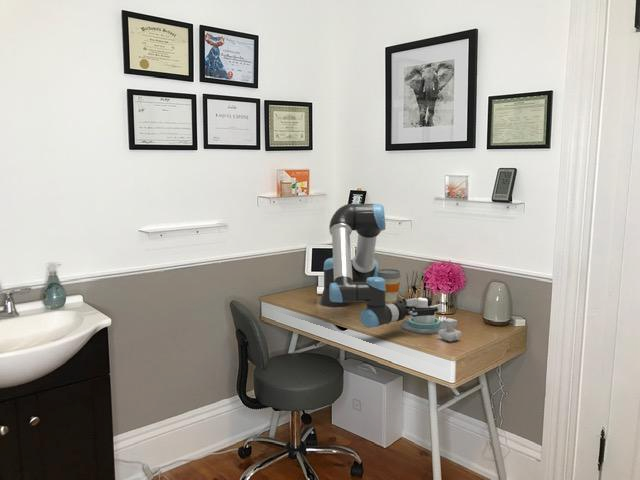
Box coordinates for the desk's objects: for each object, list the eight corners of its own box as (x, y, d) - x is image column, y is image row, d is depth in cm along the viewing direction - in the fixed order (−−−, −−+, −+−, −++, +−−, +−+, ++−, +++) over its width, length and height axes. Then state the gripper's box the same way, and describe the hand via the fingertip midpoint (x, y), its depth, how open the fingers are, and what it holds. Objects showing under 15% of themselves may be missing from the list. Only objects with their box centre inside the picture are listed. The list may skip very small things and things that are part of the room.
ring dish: (391, 325, 234) (391, 319, 234) (422, 317, 246) (422, 311, 246) (425, 337, 219) (426, 330, 218) (457, 328, 230) (458, 321, 230)
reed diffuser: (411, 310, 259) (412, 269, 256) (423, 312, 254) (424, 271, 251) (398, 314, 252) (399, 272, 249) (410, 317, 247) (411, 274, 244)
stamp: (464, 341, 213) (464, 320, 212) (452, 344, 210) (452, 323, 208) (447, 335, 221) (447, 315, 220) (435, 338, 217) (436, 318, 216)
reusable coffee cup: (380, 295, 288) (380, 268, 286) (403, 298, 283) (403, 270, 280) (372, 301, 277) (372, 272, 275) (395, 303, 271) (396, 274, 269)
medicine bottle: (421, 321, 237) (421, 294, 236) (435, 324, 233) (436, 297, 231) (412, 324, 232) (412, 297, 230) (426, 328, 227) (427, 300, 226)
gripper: (372, 314, 230) (407, 306, 243) (415, 328, 210) (451, 319, 223) (372, 297, 229) (407, 290, 242) (416, 310, 209) (451, 301, 222)
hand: (428, 304), depth 232 cm, fingers open, 13 cm apart
